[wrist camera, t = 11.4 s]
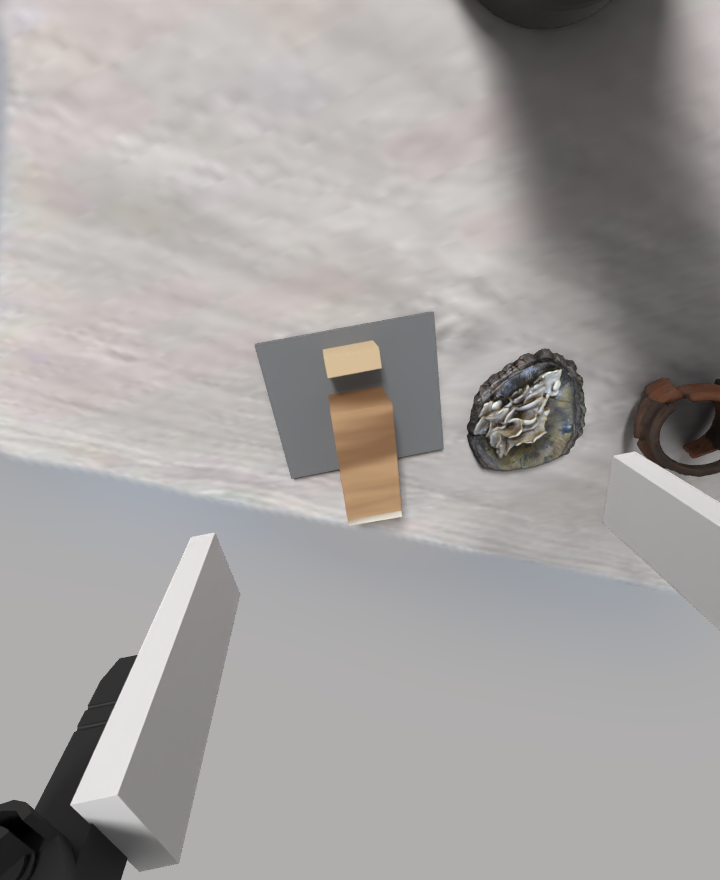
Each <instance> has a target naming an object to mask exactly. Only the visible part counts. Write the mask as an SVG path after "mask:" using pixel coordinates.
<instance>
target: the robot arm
mask: <svg viewBox="0 0 720 880" xmlns="http://www.w3.org/2000/svg"><path fill="white" fill-rule="evenodd" d="M479 1H480V2H481V3H482V4H483V5H484V6H486V7H487V8H488V9H489V10H491V11H492V12H493V13H495V14H496V15H498V16H499V17H501V18H503V19H505V20H507V21H509V22H511V23H514V24H517V25H520V26H523V27H528V28H536V29H548V28H557V27H561V26H565V25H569V24H572V23H574V22H577V21H579V20H582V19H584V18H585V17H587V16H589V15H591V14H593V13H594V12H596V11H597V10H599V9H600V8H602V7H603V6H604V5H606V4H607V3H608V2H609V1H611V0H479ZM602 523H603V524H605V525H606V526H607V527H608V528H609V529H610V530H611V531H612V532H613V533H614V534H615V535H616V536H618V537H619V538H620V539H621V540H622V541H623V542H624V543H625V544H626V545H627V546H628V547H630V548H631V549H632V550H633V551H634V552H635V553H636V554H637V555H638V556H639V557H640V558H642V559H643V560H644V561H645V562H646V563H647V564H648V565H649V566H650V567H651V568H652V569H654V570H655V571H656V572H657V573H658V574H659V575H660V576H661V577H662V578H663V579H664V580H665V581H667V582H668V583H669V584H670V585H671V586H672V587H673V588H674V589H675V590H676V591H677V592H679V593H680V594H681V595H682V596H683V597H684V598H685V599H686V600H687V601H688V602H689V603H691V604H692V605H693V606H694V607H695V608H696V609H697V610H698V611H699V612H700V613H701V614H703V615H704V616H705V617H706V618H707V619H708V620H709V621H710V622H711V623H712V624H713V625H714V626H716V627H717V628H718V629H719V630H720V502H718V501H717V500H715V499H713V498H712V497H710V496H708V495H707V494H705V493H703V492H702V491H700V490H698V489H697V488H695V487H693V486H692V485H690V484H688V483H687V482H685V481H683V480H682V479H680V478H678V477H677V476H675V475H673V474H672V473H670V472H668V471H667V470H665V469H663V468H662V467H660V466H658V465H657V464H655V463H653V462H652V461H650V460H648V459H647V458H645V457H643V456H642V455H640V454H638V453H637V452H630V453H625V454H619V455H614V456H612V463H611V469H610V476H609V482H608V489H607V495H606V502H605V508H604V515H603V521H602ZM239 597H240V592H239V590H238V587H237V585H236V583H235V580H234V577H233V575H232V573H231V570H230V568H229V565H228V563H227V560H226V558H225V556H224V553H223V551H222V548H221V546H220V543H219V541H218V539H217V536H216V534H215V533H210V534H205V535H199V536H195V537H191V538H190V541H189V543H188V545H187V547H186V550H185V552H184V554H183V556H182V559H181V561H180V563H179V565H178V567H177V569H176V572H175V574H174V576H173V578H172V580H171V583H170V585H169V587H168V589H167V592H166V594H165V596H164V598H163V601H162V603H161V605H160V607H159V609H158V612H157V614H156V616H155V618H154V621H153V623H152V625H151V627H150V629H149V632H148V634H147V636H146V638H145V640H144V642H143V645H142V647H141V649H140V651H139V653H138V655H135V656H130V657H125V658H121V659H119V660H118V661H117V662H116V663H115V665H114V666H113V667H112V668H111V669H110V670H109V672H108V673H107V674H106V675H105V676H104V677H103V679H102V680H101V681H100V683H99V685H98V687H97V689H96V691H95V693H94V695H93V697H92V699H91V701H90V703H89V705H88V710H86V711H85V712H84V714H83V716H82V718H81V720H80V722H79V724H78V726H77V727H78V729H77V731H76V732H74V734H73V736H72V738H71V740H70V742H69V743H68V746H67V747H66V749H65V751H64V753H63V755H62V757H61V759H60V761H59V763H58V765H57V767H56V769H55V771H54V773H53V775H52V777H51V779H50V781H49V783H48V785H47V786H46V788H45V790H44V793H43V794H42V796H41V798H40V800H39V802H38V804H37V806H36V808H35V810H34V809H33V808H32V807H31V806H30V805H28V804H27V803H26V802H22V801H17V800H12V801H9V802H6V803H3V804H0V880H121V878H122V874H123V871H124V868H125V865H126V862H127V860H128V861H129V862H130V863H131V864H132V865H133V866H134V867H135V868H136V869H137V870H138V871H139V872H141V871H145V870H150V869H155V868H159V867H164V866H169V865H174V864H178V863H179V861H180V856H181V852H182V848H183V843H184V839H185V834H186V830H187V825H188V821H189V817H190V812H191V808H192V804H193V799H194V795H195V790H196V786H197V782H198V777H199V773H200V769H201V764H202V759H203V755H204V751H205V746H206V742H207V738H208V733H209V729H210V725H211V720H212V716H213V711H214V707H215V703H216V698H217V694H218V690H219V685H220V681H221V676H222V672H223V667H224V663H225V659H226V654H227V650H228V646H229V641H230V636H231V632H232V628H233V624H234V619H235V614H236V610H237V606H238V601H239Z"/></svg>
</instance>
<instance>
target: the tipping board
mask: <svg viewBox="0 0 720 880" xmlns="http://www.w3.org/2000/svg"><path fill="white" fill-rule="evenodd" d="M255 348H256V352H257V355H258V359H259V363H260V366H261V370H262V374H263V377H264V381H265V384H266V388H267V392H268V395H269V399H270V403H271V406H272V410H273V413H274V417H275V421H276V424H277V428H278V432H279V435H280V439H281V442H282V446H283V450H284V453H285V457H286V460H287V464H288V468H289V471H290V475H291V479H293V478H298V477H303V476H308V475H313V474H318V473H323V472H328V471H333V470H338V469H339V463H338V456H337V450H336V444H335V438H334V432H333V425H332V419H331V413H330V405H329V397H328V394H333V393H340V392H346V391H353V390H360V389H366V388H373V387H380V386H382V387H383V389H384V390H385V392H386V394H387V396H388V397H389V399H390V401H391V402H392V404H393V416H394V428H395V439H396V451H397V458H399V457H404V456H410V455H415V454H420V453H425V452H430V451H435V450H440V449H444V447H443V433H442V419H441V405H440V391H439V377H438V363H437V349H436V335H435V321H434V312H426V313H421V314H415V315H410V316H405V317H399V318H394V319H388V320H383V321H377V322H372V323H366V324H361V325H355V326H350V327H344V328H339V329H333V330H328V331H323V332H317V333H312V334H306V335H301V336H295V337H290V338H284V339H279V340H273V341H268V342H262V343H257V344H255Z"/></svg>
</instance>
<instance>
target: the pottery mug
mask: <svg viewBox="0 0 720 880" xmlns="http://www.w3.org/2000/svg"><path fill="white" fill-rule="evenodd" d="M714 383H715V384H716V385H713V384H689V385H683V386H679V387H675V386H674V385H673V384H672V383H670V382H669V379H665V378H661V379H659V380H657V381H655V382H653V383H652V384H650V385H648V386H647V387H646V391H645V393H646V395H647V396H645V397H643V398H642V400H641V403H640V405H639V408H638V411H637V415H636V419H635V424H634V437H635V438H638V439H639V441H638V443H637V445H638V447H639V449H640V450H641V452H642V453H643V454H644V456H646V458H647V459H648V460H650V461H652V462H653V463H655V464H657V465H658V466H660V467H662V468H664V469H665V468H668V469H669V470H672V471H675V472H678V473H679V474H684V475H691V476H697V477H701V476H705V475H711V474H716V473H719V472H720V460H719V461H716V462H713V463H709V464H705V465H686V464H681V463H678V462H676V461H674V460H672V459H671V458H669V457H668V456H667V455H666V454H665V453H664V452H663V450H662V448H661V445H660V441H659V438H660V430H661V427H662V425H663V423H664V421H665V420H666V419H667V417H668V416H669V415H670V414H671V413H672V412H674V411H675V410H676V407H673V406H669V404H672V403H674V402H675V401H677V400H680V399H684V398H687V399H688V400H690V401H692V402H696V401H707V400H711V401H714V404H715V417H714V420H713V423H712V425H711V427H710V429H709V430H708V431H707V432H706V434H705V435H703V436H702V437H700V438H699V439H697V440H695V441H693V442H691V443H689V444H687V445H684V446H683V449H684V450H685V451H686V452H687V453H689V455H690V457H692V458H697V457H700V456H702V455H705V454H708V453H711V452H714V451H716V450H720V379H716V380H715V382H714Z"/></svg>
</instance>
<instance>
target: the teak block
mask: <svg viewBox="0 0 720 880" xmlns="http://www.w3.org/2000/svg"><path fill="white" fill-rule="evenodd" d="M328 397H329V405H330V413H331V419H332V425H333V432H334V438H335V444H336V450H337V456H338V463H339V469H340V475H341V481H342V487H343V494H344V500H345V506H346V512H347V518H348V525H349V526H350V525H356V524H362V523H368V522H374V521H380V520H386V519H392V518H398V517H402V509H401V498H400V486H399V474H398V463H397V451H396V439H395V428H394V416H393V404H392V402H391V401H390V399H389V397H388V396H387V394H386V392H385V390H384V389H383V387H382V386H380V387H373V388H366V389H360V390H353V391H346V392H340V393H333V394H328Z"/></svg>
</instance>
